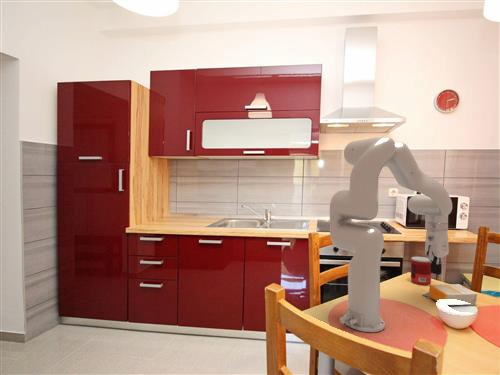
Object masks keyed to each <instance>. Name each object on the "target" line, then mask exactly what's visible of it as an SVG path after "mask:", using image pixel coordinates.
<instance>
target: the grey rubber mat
mask: <svg viewBox="0 0 500 375" xmlns="http://www.w3.org/2000/svg"><path fill="white" fill-rule="evenodd" d="M422 297H425V298H428V299H432V300H434V299H433V298H431V297H430V296H429V291H427V292H425V293H424V294H422Z"/></svg>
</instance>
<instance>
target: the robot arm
mask: <svg viewBox="0 0 500 375" xmlns="http://www.w3.org/2000/svg"><path fill="white" fill-rule="evenodd" d="M343 157H344V159H345V161H346V162H347V163H348V164H350V165H351V166H352V169H351V171H350V176H349V190H348V189H346V190H339V191H337V192H335V193H334V194H333V196H332V198H331V200H330V202H329V235H330V236H329V237H330V241H331V243H332V245H333V246H334V247H335V248H337V249H340V250H343V251H347V252H350V253H352V254H354V255H353V256H352V258H351V259H350V261H349V264H348V267H347V268H348V270H347V273H348V274H347V282H348V283H347V288H348V290H347V309H346V313H344V314H343V316H340V317H339V322H340V323H341V324H345V325H346V326H347V327H349V328H351V329H353V330H355V331H359V332H364V333H377V332H381V331H383V330H384V329H385V327H386V322H385V321H384V319H383V318H382V317H381V315H380V314H381V313H380V312H381V311H380V308H381V303H380V302H381V261H382V254H383V249H384V244H385V238H384V234H383V232H382V231H381V229H379V228H377V227H375V226H373V225H369V224H365V223H364V224H362V223H356V222H352V220H355V221H356V220H357V221H365V222H367V221H373V220H374V219H376V218H377V215H378V213H379V176H380V174H381V171H382V169H383V168H385V167H387V168H388V169H389V171H390V172H391V174H392V175H393V177H394V179H395V180H396V182H397V184H398V185H399V186H401V187H403V188H405V189H407V190H411V191H412V192H416V193H420V194H415V195H413V196H411V197H410V198H409V199H408V201H407V208H408V210H409V211H410V212H412V213H413V214H415V215H421V216H422V215H423V216H425V224H424V226H425V227H424V228H425V231H426V232H425V243H424V245H425V246H424V248H425V250H424V253H425V255H426V256H427V258H428V260H430V263H431V274H434V275H437V276H438V275H441V274H442V263H443V258H444V257H446V256H448V255H449V253H450V248H449V245H450V243H449V234H448V232H449V215H450V214H451V213H452V210H453V202H452V199H451V197H450V194H449V192H448V191H447V189H446V188H445V186H444V185H443V184H442V183H440V182H439V181H438V180H436V179H435V178H433V177H431V176H429V175H428V174H426V173H424V172H423V171H422V170H421V168H420V166H419V164H418V163H417V161H416V159H415V157H414V156H413V153H412V152H411V150H410V148H409V147H408V145H407V144H406V143H404V142H401V141H395V140H394V139H393V138H391V137H388V136H377V137H372V138H371V137H370V138H364V139H358V140H353V141H350V142H349V143H347V144H346V146H345V147H344V150H343Z"/></svg>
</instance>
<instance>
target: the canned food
mask: <svg viewBox="0 0 500 375" xmlns="http://www.w3.org/2000/svg"><path fill="white" fill-rule="evenodd" d="M410 281H411V282H413V283H412V284H414V283H415V285H418V286H430V285H431V283H432V273H431V263H430V260H428V257H424V256H412V257H411V258H410Z"/></svg>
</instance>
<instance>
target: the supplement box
mask: <svg viewBox="0 0 500 375" xmlns="http://www.w3.org/2000/svg"><path fill="white" fill-rule="evenodd" d="M428 289H429V291H428V292H429V296H430V297H431V298H433V299H432V300H435V301H436V302H438V301H437V300H439V299H457V300H461V301H465V302H468V303H471V304H473V305H472V306H476V304H477V296H478V293H476V292H475V291H473V290H471V289H469V288H467V287H466V286H464V285H462V284H459V283H458V284H457V283H455V284H452V283H451V284H447V283H446V284H430V285H429V288H428ZM431 298H430V299H431Z"/></svg>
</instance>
